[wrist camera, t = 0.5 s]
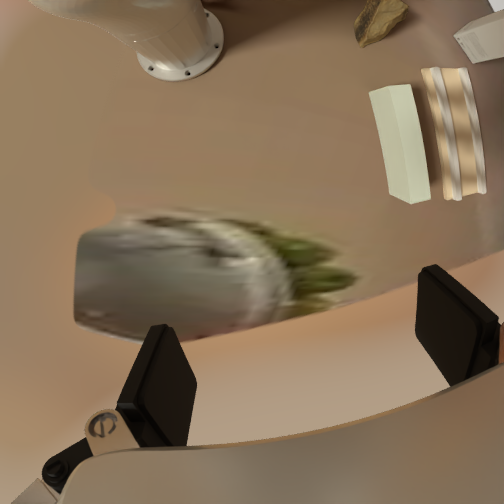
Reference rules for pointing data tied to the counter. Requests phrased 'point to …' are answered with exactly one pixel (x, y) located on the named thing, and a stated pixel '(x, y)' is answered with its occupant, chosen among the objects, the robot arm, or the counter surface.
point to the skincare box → (483, 38)
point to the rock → (378, 20)
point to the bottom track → (456, 131)
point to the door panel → (401, 142)
